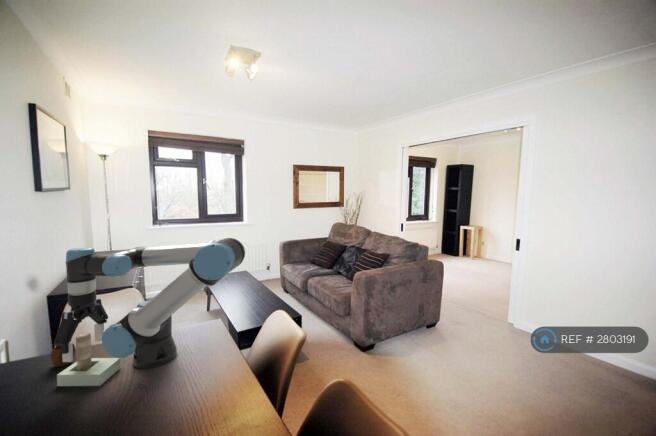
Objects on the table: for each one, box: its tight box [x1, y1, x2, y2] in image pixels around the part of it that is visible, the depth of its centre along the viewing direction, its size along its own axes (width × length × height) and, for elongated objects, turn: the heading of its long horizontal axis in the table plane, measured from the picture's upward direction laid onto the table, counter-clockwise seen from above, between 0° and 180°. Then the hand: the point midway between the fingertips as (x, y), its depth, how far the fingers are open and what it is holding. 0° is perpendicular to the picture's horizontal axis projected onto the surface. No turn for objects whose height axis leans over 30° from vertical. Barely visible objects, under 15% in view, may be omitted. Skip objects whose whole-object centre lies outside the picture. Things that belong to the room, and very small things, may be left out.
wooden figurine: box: [50, 327, 76, 368], centre depth 106 cm, size 7×6×15 cm
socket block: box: [56, 357, 121, 387], centre depth 100 cm, size 14×10×4 cm
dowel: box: [75, 333, 93, 371], centre depth 99 cm, size 4×4×15 cm
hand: (84, 350), depth 99 cm, fingers open, 13 cm apart
